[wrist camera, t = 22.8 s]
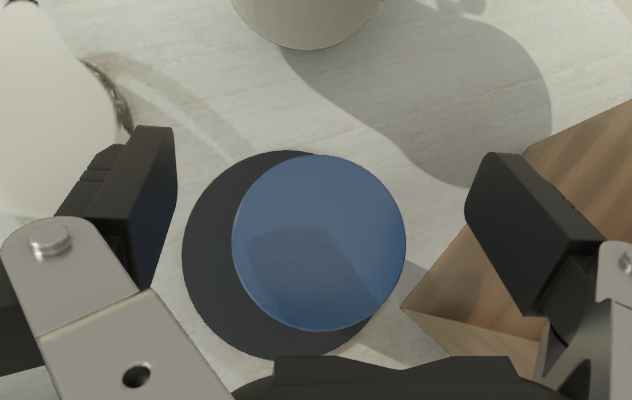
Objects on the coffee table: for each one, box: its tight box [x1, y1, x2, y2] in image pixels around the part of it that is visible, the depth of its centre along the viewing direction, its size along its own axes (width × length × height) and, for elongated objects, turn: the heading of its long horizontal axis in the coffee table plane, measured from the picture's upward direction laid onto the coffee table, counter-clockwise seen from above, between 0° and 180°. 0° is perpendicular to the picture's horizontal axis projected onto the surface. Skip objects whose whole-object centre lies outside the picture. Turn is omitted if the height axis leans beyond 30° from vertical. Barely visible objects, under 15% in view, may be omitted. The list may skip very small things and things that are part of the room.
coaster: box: [182, 150, 374, 360], centre depth 24 cm, size 12×12×1 cm
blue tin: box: [231, 155, 406, 331], centre depth 19 cm, size 6×6×11 cm
